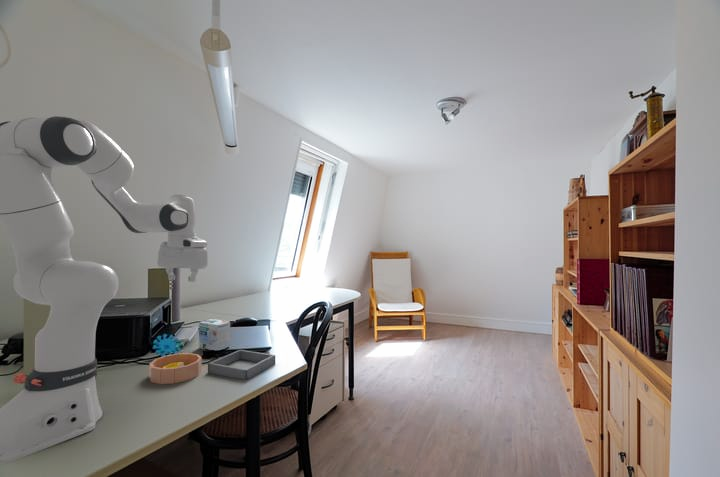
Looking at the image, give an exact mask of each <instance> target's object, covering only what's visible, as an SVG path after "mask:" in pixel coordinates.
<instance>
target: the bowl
mask: <svg viewBox="0 0 720 477" xmlns="http://www.w3.org/2000/svg"><path fill="white" fill-rule="evenodd" d="M202 358H203V357H202V356H201V355H200V354H196V353H190V352H188V353H187V352H185V353H184V352H183V353H182V352H180V353H179V352H178V354H174V353H172V354H171V355H169V354H167V355H165V356H163V357H161V356H160V357H157V358H154V360H152V361H151V362H150V363H149V368H148V370H149V373H148V374H149V375H148V376H149V381H150V382H151V383H155V384H159V385H165V384H166V385H167V384H169V385H170V384H171V385H172V384H177V383H181V382H186V381H190V380H192V379H194V378H196V377H198V376H199V375H200V374H201V373H202V369H203V368H202V366H203V365H202V363H203V361H202V360H203V359H202ZM177 362H183V363H184V366H181V367H176V368H163V367H164V366H167V365H169V364H172V363H177Z"/></svg>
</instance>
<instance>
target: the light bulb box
mask: <svg viewBox="0 0 720 477" xmlns="http://www.w3.org/2000/svg"><path fill="white" fill-rule="evenodd" d="M228 342H230V343H231V321H229V320H221V319H215V318H210V319H206V320H203V321H199V322H198V349H202V350H205V346H206V345H214V346H219V345H222V344H225V343H228Z"/></svg>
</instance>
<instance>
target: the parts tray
mask: <svg viewBox="0 0 720 477" xmlns="http://www.w3.org/2000/svg"><path fill="white" fill-rule="evenodd" d="M239 360H247V361H250V362H251V361H252V362H257V363H256V364H253V365H251V366H250V367H247V368H243V367H242V368H241V367H236V366H230V364H232V363H234V362H237V361H239ZM275 364H276V355H275V354H270V353H269V354H268V353H263V352H257V351H251V350H245V349H239V350H236V351H234V352H231V353H230V354H227V355H225V356H222V357H220V358H218V359H214V360H212V361H211V362H208V363H207V373H209V374H214V375H219V376H224V377H230V378H235V379H239V380H244V381H247V380H249V379H250V378H252V377H254V376H256V375H257V374H259V373H261V372H263V371H264V370H266V369H269V368H270V367H272V366H274V365H275Z"/></svg>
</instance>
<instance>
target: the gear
mask: <svg viewBox="0 0 720 477" xmlns="http://www.w3.org/2000/svg"><path fill="white" fill-rule="evenodd" d="M167 336H168V334H166V333H164V334H162V336H161V335H158V336H157V337H156V339H154V340H153V342H152V344H153V346H152V350H155V352H154V353H155V354H156V355H159V354H160V358H161V357H163V356H166V354H168V355H172V353H173V354H179V352H181V350H182V348H181V347H182V346H183V345H184V341H181V342H179V338H178V337H176V338H174V335H173V334H170V335H169V336H168V337H167ZM173 338H174V339H173Z"/></svg>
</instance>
